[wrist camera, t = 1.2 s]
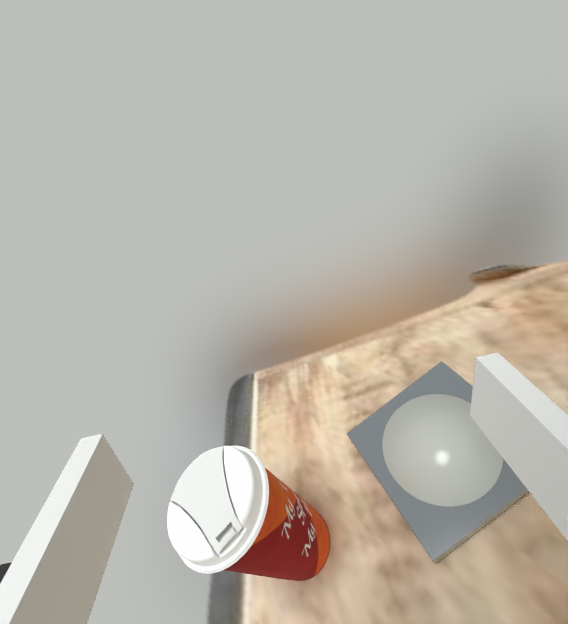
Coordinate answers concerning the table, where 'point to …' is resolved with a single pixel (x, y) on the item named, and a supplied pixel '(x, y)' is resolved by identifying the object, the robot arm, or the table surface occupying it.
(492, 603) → the table surface
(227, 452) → the paper cup
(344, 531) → the table surface
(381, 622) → the table surface
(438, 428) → the coaster
